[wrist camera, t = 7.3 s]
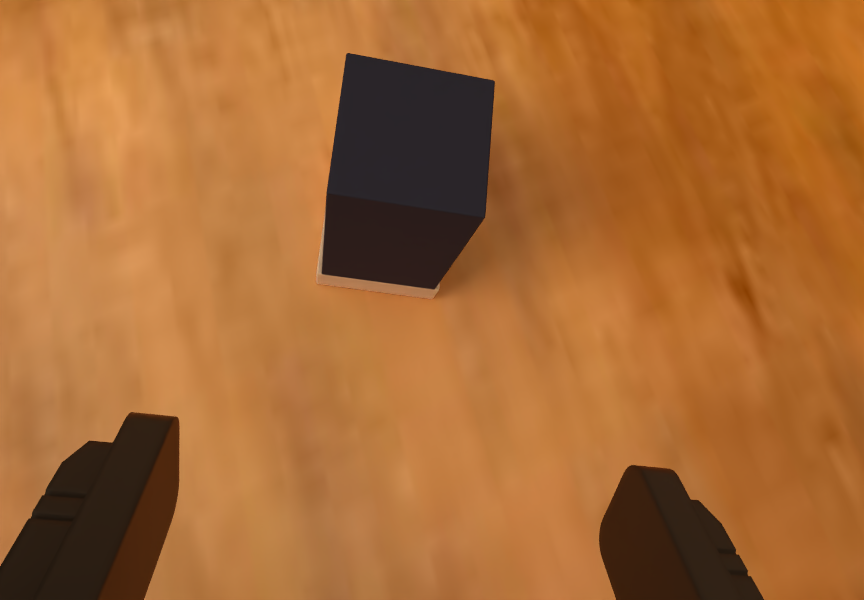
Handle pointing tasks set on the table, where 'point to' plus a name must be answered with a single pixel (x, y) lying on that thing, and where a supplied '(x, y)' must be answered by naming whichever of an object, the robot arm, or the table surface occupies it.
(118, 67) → the table surface
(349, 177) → the high-top shoe
